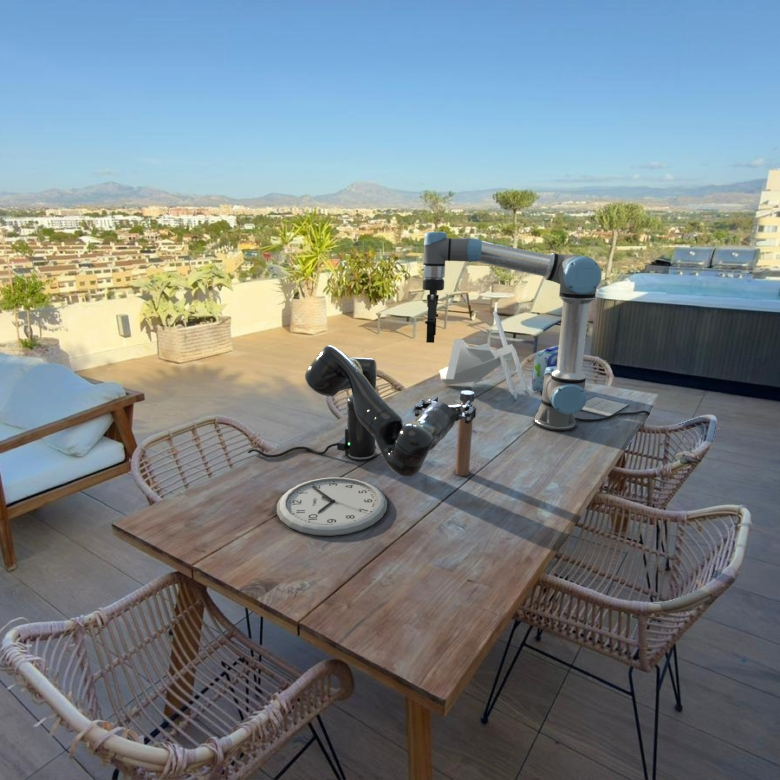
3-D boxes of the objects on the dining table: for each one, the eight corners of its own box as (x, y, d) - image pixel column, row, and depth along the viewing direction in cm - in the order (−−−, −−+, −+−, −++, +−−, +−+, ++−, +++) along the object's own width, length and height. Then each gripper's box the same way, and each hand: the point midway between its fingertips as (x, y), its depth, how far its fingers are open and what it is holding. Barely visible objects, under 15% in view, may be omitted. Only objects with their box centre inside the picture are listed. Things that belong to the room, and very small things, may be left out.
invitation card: (608, 416, 214) (573, 407, 224) (608, 416, 214) (573, 408, 224) (628, 404, 229) (594, 396, 238) (628, 405, 229) (594, 397, 238)
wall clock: (392, 527, 129) (268, 531, 127) (391, 533, 130) (269, 537, 127) (383, 473, 158) (282, 475, 155) (383, 478, 158) (282, 480, 156)
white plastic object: (461, 429, 252) (437, 405, 227) (444, 352, 274) (420, 323, 250) (535, 404, 240) (518, 377, 215) (510, 326, 262) (492, 293, 237)
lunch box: (548, 398, 236) (553, 353, 229) (527, 393, 243) (531, 349, 237) (575, 387, 253) (581, 344, 247) (555, 382, 260) (560, 341, 254)
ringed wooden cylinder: (471, 474, 162) (477, 394, 155) (461, 477, 160) (466, 396, 153) (463, 469, 166) (468, 390, 158) (453, 471, 164) (457, 392, 156)
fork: (410, 411, 216) (410, 407, 215) (421, 400, 230) (421, 396, 229) (416, 412, 215) (416, 408, 214) (427, 401, 229) (427, 396, 228)
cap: (476, 401, 155) (477, 393, 155) (466, 403, 153) (466, 395, 152) (467, 397, 159) (468, 389, 158) (457, 399, 157) (457, 391, 156)
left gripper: (404, 434, 123) (425, 412, 137) (463, 443, 118) (479, 420, 132) (405, 403, 121) (426, 385, 135) (465, 411, 116) (481, 391, 130)
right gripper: (424, 274, 193) (422, 331, 200) (420, 281, 170) (418, 345, 176) (445, 275, 193) (442, 332, 199) (443, 282, 169) (440, 346, 175)
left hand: (452, 402), depth 134 cm, fingers open, 8 cm apart
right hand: (431, 338), depth 187 cm, fingers open, 13 cm apart
